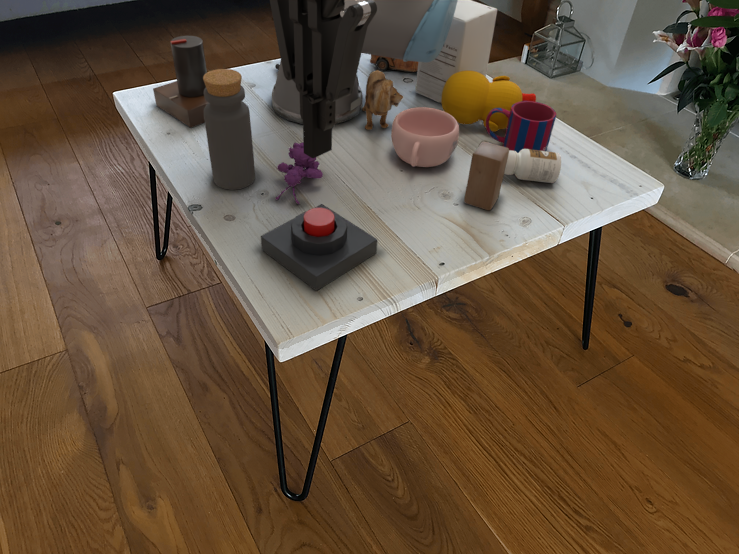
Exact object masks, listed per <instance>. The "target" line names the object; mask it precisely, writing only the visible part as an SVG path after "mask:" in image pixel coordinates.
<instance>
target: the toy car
mask: <svg viewBox="0 0 739 554" xmlns="http://www.w3.org/2000/svg"><path fill="white" fill-rule="evenodd" d="M369 63H370V64H371V65H375V66H376V68H377V70H379V71H381V72H384V71H398V72H404V73H413V74H415V73H417V71H418V62H416V61H407V62H404V61H403V60H402V59H395V58H389V57H383V56H377V55H371V54H370V59H369Z"/></svg>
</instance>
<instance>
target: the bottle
mask: <svg viewBox="0 0 739 554" xmlns="http://www.w3.org/2000/svg"><path fill="white" fill-rule="evenodd" d="M203 80H204V83H205V85H206V88H205V89H204V98H205V100H206V101H207V102H208V103H209V104H207V105H206V106H205V108H204V120H205V123H204V126H205V132H206V140H207V149H208V154H209V160H210V161H209V162H210V167H211V174H212V178H213V182H214V184H215V186H217V187H218V188H221V189H224V190H232V191H235V190H241V189H245V188H247V187H249V186H251V185H252V184H253V183H254V182H255V179H256V168H255V157H254V156H255V155H254V146H253V145H254V144H253V135H252V125H251V124H252V123H251V112H250V107H249V106H248V104H246V103H245V102H244V100H245V98H246V91H245V88H244V86H243V85H242V74H241V72H239V71H237V70H234V69H229V68H217V69H213V70H209V71H207V73H206V74H205V75H204V76H203Z"/></svg>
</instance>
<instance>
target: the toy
mask: <svg viewBox="0 0 739 554" xmlns="http://www.w3.org/2000/svg"><path fill="white" fill-rule="evenodd" d="M510 80H511V77H510V76H507V75H498V76H495V77H493V78H492V81H489V79H488V77H487V76H486V77H485V76H484V75H482V74H481V73H479V72H476V71H470V70H466V71H460V72H457V73H455V74H453V75H452V76H450V77H449V79H448V80H447V81H446V83H445V85H444V88H443V91H442V99H441V102H442V104H441V108H442V111H444V112H446V113H448V114H450V115H451V116H453V117H454V118H455V119H456V121H457V123H458V125H473V124H475V123H478V122H479V121H481V122H482V125H483V127H484V128H485V129H486V118H487V115H488V114H489V112H490V111H491V110H492V109H494V108H503V109H506V110H508V111H511V107H512V105H513V104H515V103H517V102H521V101H534V102H537V95H536V94H535V93H524V92H522V89H521V87H520V86H519V85H518V84H517V83H516V82H513V81H510ZM507 124H508V117H507V116H506V115H505V114H503V113H500V112H496V113H494V114H492V115H491V117H490V119H489V128H490V130H491V131H492V132H493V133H496V132H498V131H499V130H506V129H507Z"/></svg>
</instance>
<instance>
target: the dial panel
mask: <svg viewBox="0 0 739 554" xmlns="http://www.w3.org/2000/svg"><path fill="white" fill-rule="evenodd" d="M152 91H153V95H154V96H153V97H154V100H155V106H156V107H158V108H160V109H161V110H162V111H163V112H166V113H167V114H169V115H170V116H172V117H173V118H175V119H176V120H178V121H180V122H181V123H182V124H184V125H186V126H187V127H189V128H191V129H192V128H195V127H197V126H200V125H203V124H205V120H204V108H205V106H206V105H207V104H209V103H208V102H207V101H206V100H205V98H204V95H203V96H200V97H186V96H183V95H181V94H180V93H179V90H178V84H177V80H175V81H173V82H168V83H166V84H163V85H160V86H157V87H154V88H152Z"/></svg>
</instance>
